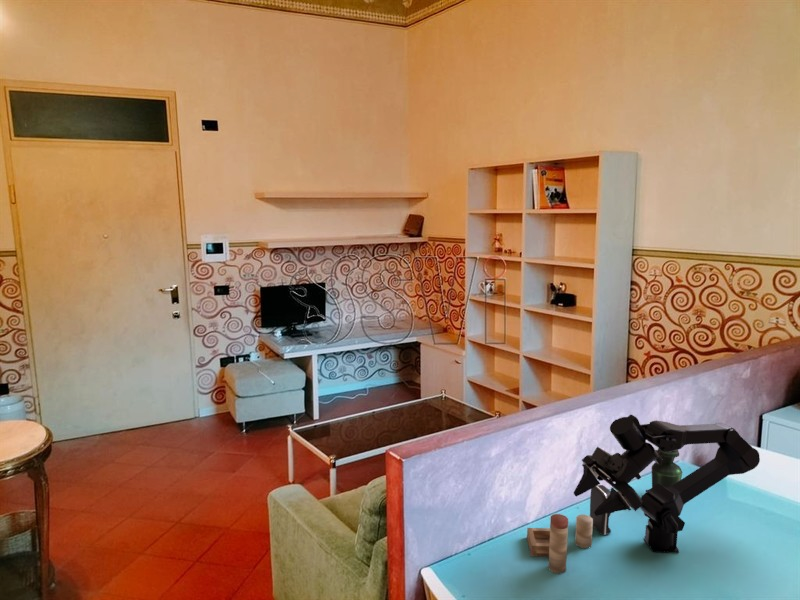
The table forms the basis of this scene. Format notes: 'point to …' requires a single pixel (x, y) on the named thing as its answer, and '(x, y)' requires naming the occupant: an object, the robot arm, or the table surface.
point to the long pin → (558, 543)
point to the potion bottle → (666, 470)
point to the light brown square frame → (538, 541)
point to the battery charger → (596, 499)
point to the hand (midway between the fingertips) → (584, 504)
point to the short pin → (584, 531)
